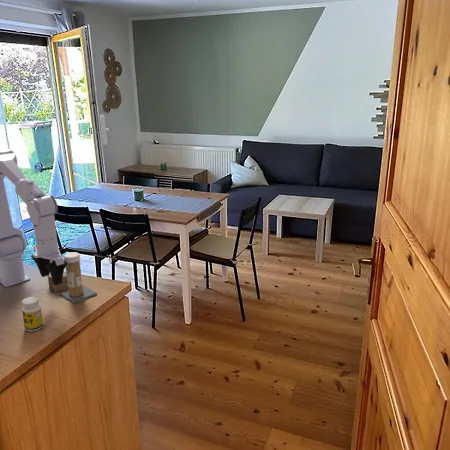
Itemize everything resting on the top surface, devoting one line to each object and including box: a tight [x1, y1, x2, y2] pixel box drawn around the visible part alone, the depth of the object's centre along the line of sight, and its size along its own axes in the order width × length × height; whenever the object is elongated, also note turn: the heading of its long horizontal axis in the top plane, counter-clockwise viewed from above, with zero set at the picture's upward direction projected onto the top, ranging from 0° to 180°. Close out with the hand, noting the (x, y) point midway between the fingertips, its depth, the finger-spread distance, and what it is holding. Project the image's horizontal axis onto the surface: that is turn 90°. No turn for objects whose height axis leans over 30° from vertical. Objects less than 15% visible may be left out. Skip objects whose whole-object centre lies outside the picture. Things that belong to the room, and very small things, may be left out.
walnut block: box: [47, 272, 68, 293], centre depth 138 cm, size 4×4×5 cm
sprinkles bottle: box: [63, 251, 83, 297], centre depth 131 cm, size 5×5×13 cm
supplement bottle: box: [21, 296, 44, 332], centre depth 115 cm, size 5×5×8 cm
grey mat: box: [60, 284, 98, 304], centre depth 134 cm, size 8×8×1 cm
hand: (51, 279), depth 126 cm, fingers open, 7 cm apart
